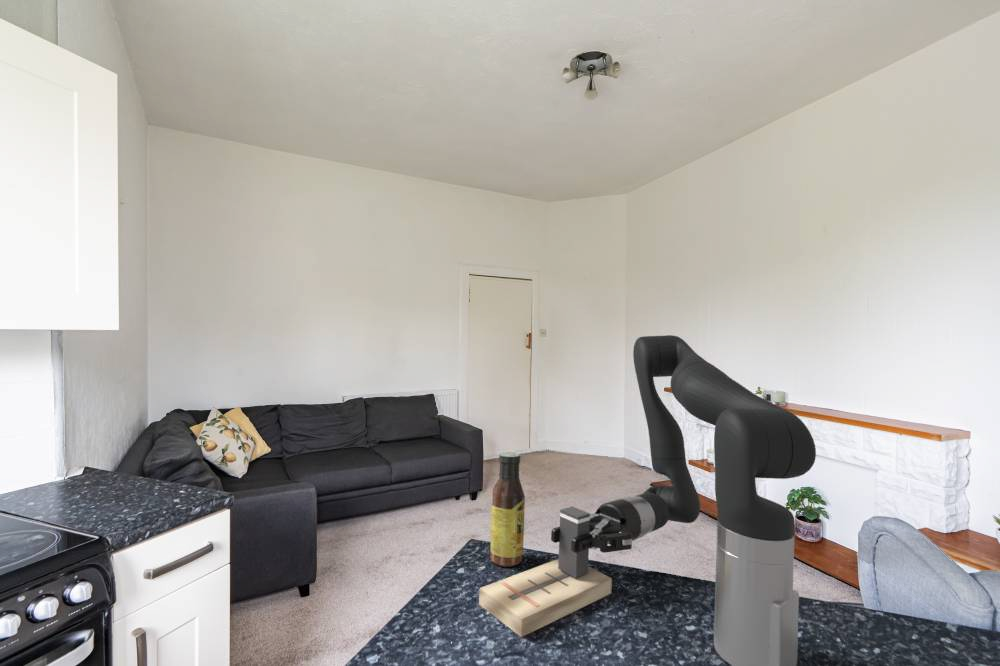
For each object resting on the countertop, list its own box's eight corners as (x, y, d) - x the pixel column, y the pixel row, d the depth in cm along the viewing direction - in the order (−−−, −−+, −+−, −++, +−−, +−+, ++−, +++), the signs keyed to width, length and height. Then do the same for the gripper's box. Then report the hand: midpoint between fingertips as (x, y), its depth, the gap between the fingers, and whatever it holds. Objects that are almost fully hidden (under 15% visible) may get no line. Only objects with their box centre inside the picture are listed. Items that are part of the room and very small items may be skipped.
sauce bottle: (523, 569, 85) (527, 459, 85) (488, 567, 85) (493, 458, 85) (522, 553, 91) (526, 451, 92) (490, 551, 91) (494, 450, 92)
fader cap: (588, 573, 78) (590, 513, 79) (575, 578, 77) (578, 517, 77) (570, 563, 82) (572, 506, 82) (558, 568, 80) (560, 509, 80)
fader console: (611, 593, 78) (611, 577, 78) (521, 637, 65) (521, 618, 65) (566, 569, 85) (567, 555, 86) (478, 604, 73) (479, 587, 73)
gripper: (596, 489, 94) (534, 505, 83) (659, 511, 83) (597, 532, 72) (595, 527, 94) (532, 548, 83) (658, 553, 83) (595, 582, 72)
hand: (563, 540), depth 77 cm, fingers closed on fader cap, 4 cm apart
